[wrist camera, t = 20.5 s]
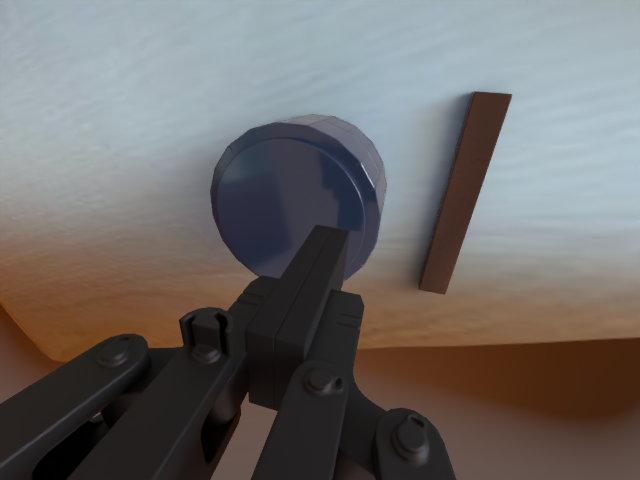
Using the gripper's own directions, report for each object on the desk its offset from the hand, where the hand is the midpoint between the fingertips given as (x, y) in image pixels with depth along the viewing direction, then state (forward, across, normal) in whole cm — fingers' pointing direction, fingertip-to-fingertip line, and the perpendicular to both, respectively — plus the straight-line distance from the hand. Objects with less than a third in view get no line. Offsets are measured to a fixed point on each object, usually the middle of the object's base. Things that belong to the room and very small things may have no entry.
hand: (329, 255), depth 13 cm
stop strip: (+10, +7, 0) cm, 12 cm away
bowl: (+3, -3, 0) cm, 4 cm away
